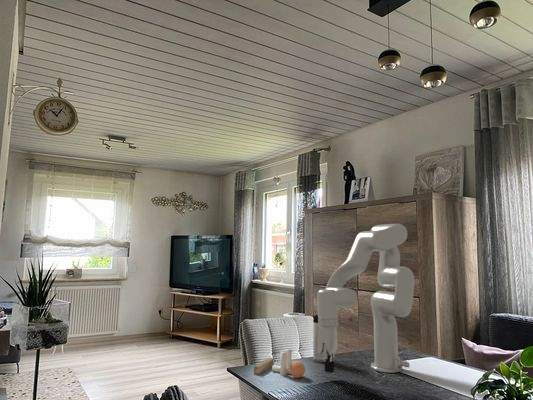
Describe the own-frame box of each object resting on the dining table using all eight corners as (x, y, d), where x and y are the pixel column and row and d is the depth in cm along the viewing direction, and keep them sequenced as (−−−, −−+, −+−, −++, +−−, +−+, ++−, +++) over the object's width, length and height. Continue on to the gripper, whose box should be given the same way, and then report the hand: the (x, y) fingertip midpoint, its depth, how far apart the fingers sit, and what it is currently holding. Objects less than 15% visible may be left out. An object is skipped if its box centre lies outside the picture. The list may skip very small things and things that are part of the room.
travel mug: (327, 363, 172) (327, 315, 174) (312, 362, 173) (312, 315, 175) (328, 359, 178) (328, 313, 180) (313, 358, 179) (313, 313, 182)
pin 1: (287, 374, 155) (287, 352, 156) (284, 376, 153) (285, 353, 154) (281, 373, 156) (281, 351, 157) (279, 375, 154) (279, 352, 155)
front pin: (293, 367, 157) (274, 364, 161) (291, 368, 155) (271, 365, 159) (293, 373, 157) (274, 370, 160) (291, 375, 155) (271, 372, 158)
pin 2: (292, 371, 160) (292, 349, 161) (290, 372, 157) (290, 350, 159) (287, 370, 161) (287, 348, 162) (284, 371, 159) (284, 349, 160)
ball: (290, 368, 156) (305, 371, 155) (288, 379, 151) (303, 382, 150) (291, 356, 154) (306, 359, 153) (289, 367, 149) (305, 370, 148)
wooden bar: (273, 365, 167) (273, 358, 167) (258, 374, 154) (258, 366, 155) (269, 365, 168) (269, 357, 168) (253, 374, 155) (253, 366, 156)
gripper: (324, 318, 160) (326, 365, 158) (312, 325, 147) (313, 376, 145) (342, 319, 157) (344, 367, 155) (331, 326, 144) (333, 379, 142)
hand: (329, 371), depth 150 cm, fingers closed
